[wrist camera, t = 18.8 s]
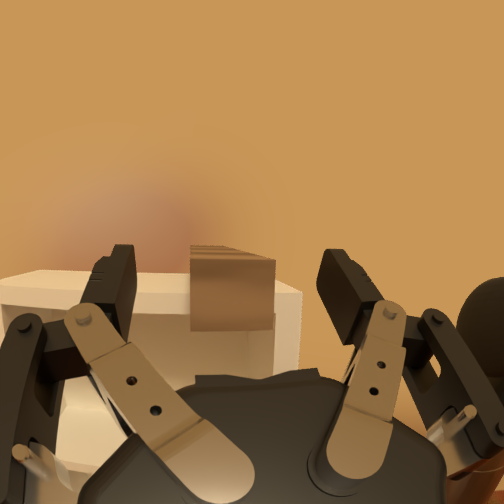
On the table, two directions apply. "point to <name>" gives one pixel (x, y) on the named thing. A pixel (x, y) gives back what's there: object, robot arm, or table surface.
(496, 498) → the table surface
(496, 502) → the table surface
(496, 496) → the table surface
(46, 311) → the off-white shelf
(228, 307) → the walnut bar
